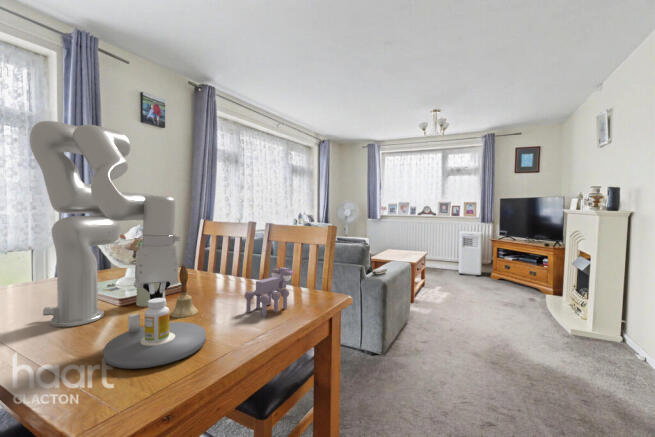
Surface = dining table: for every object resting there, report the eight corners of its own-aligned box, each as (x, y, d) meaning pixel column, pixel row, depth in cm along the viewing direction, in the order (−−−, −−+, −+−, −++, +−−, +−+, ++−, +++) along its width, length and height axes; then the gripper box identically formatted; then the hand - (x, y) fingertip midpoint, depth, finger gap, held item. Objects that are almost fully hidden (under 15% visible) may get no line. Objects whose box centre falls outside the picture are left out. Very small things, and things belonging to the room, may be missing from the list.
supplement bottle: (170, 332, 80) (170, 295, 79) (168, 341, 75) (168, 302, 74) (146, 335, 78) (146, 298, 77) (143, 344, 73) (143, 304, 72)
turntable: (141, 378, 62) (141, 351, 61) (83, 352, 72) (82, 329, 71) (224, 338, 81) (224, 317, 81) (169, 322, 91) (169, 303, 91)
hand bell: (187, 319, 96) (187, 268, 95) (164, 316, 98) (164, 267, 97) (203, 310, 104) (203, 263, 103) (181, 308, 106) (181, 262, 105)
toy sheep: (282, 297, 120) (284, 263, 119) (303, 304, 114) (305, 268, 113) (241, 311, 103) (243, 272, 102) (263, 320, 97) (265, 278, 96)
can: (144, 308, 105) (144, 273, 104) (130, 303, 110) (130, 270, 109) (170, 301, 113) (170, 269, 112) (156, 297, 117) (156, 266, 117)
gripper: (185, 238, 91) (182, 298, 92) (125, 239, 82) (122, 306, 83) (190, 242, 85) (187, 306, 86) (126, 243, 76) (124, 315, 77)
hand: (155, 306), depth 85 cm, fingers closed
